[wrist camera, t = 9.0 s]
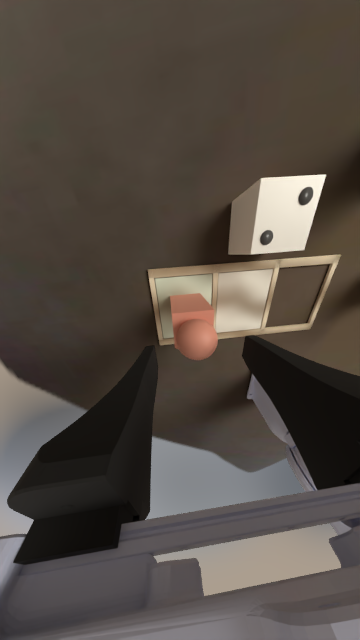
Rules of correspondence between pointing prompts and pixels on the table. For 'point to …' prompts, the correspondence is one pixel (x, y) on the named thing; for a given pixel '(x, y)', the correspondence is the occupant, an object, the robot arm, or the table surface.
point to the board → (231, 294)
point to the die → (274, 215)
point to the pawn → (193, 326)
